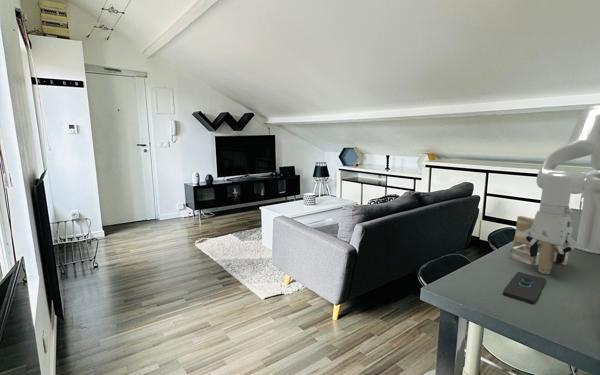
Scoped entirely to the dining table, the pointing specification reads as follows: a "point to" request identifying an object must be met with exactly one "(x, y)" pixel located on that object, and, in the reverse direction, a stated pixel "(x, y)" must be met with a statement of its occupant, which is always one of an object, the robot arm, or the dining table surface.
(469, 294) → the dining table surface
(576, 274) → the dining table surface
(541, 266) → the handle
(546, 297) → the dining table surface
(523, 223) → the wooden wall shelf
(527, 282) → the smart home device
